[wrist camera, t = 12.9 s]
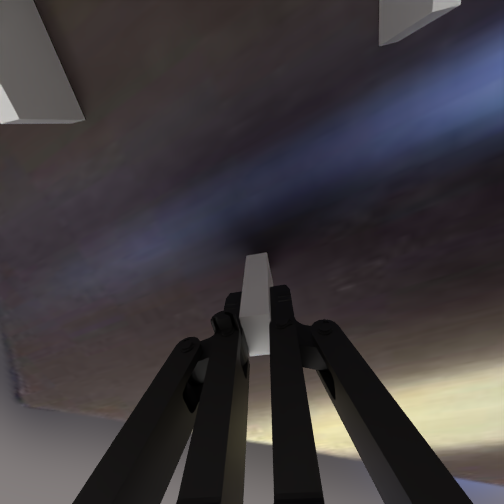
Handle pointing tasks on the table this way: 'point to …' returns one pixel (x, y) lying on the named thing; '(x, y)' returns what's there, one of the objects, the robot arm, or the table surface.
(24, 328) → the table surface
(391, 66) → the table surface
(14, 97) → the box
